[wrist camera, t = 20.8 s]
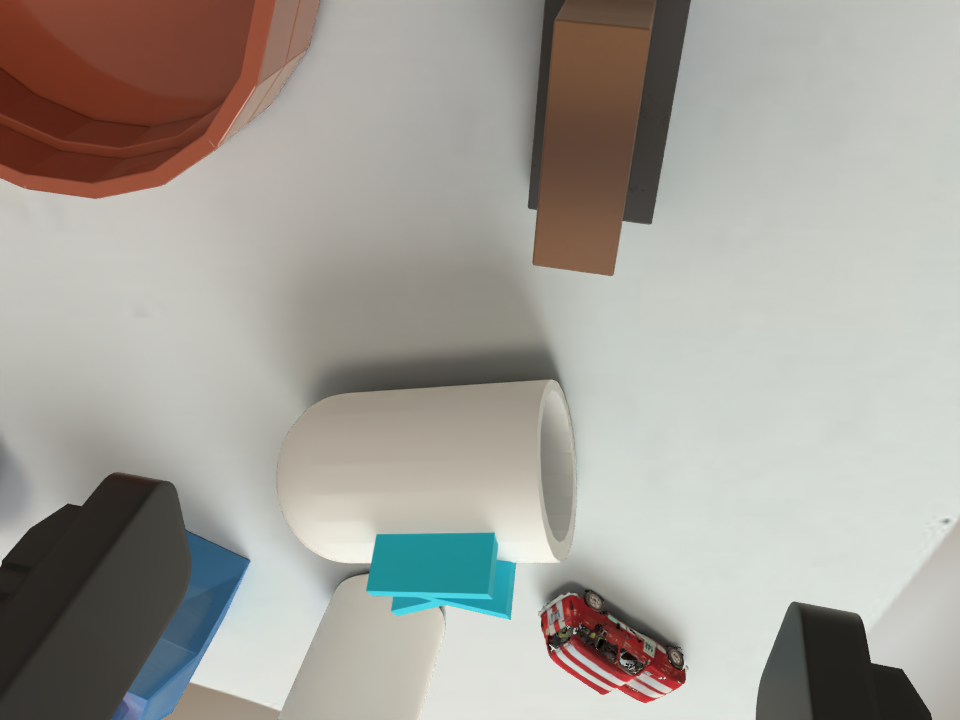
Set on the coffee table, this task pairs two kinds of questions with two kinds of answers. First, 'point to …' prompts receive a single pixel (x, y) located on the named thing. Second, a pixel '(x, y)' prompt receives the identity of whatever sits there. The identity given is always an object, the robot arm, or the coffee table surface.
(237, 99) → the bowl
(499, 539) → the mug
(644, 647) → the toy car
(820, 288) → the coffee table surface
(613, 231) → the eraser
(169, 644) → the perfume bottle
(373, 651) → the can
